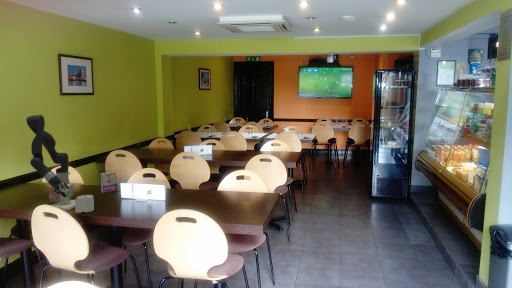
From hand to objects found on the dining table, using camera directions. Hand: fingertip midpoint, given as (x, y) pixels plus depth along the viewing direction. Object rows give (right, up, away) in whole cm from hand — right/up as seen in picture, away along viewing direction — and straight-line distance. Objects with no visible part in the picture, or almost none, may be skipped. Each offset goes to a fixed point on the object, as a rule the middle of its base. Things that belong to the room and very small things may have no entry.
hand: (67, 195), depth 306 cm
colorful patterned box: (-15, -5, +22) cm, 27 cm away
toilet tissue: (+18, -9, -12) cm, 24 cm away
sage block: (-2, -4, +1) cm, 5 cm away
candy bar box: (+15, -2, +42) cm, 44 cm away
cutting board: (-2, -8, +1) cm, 8 cm away
